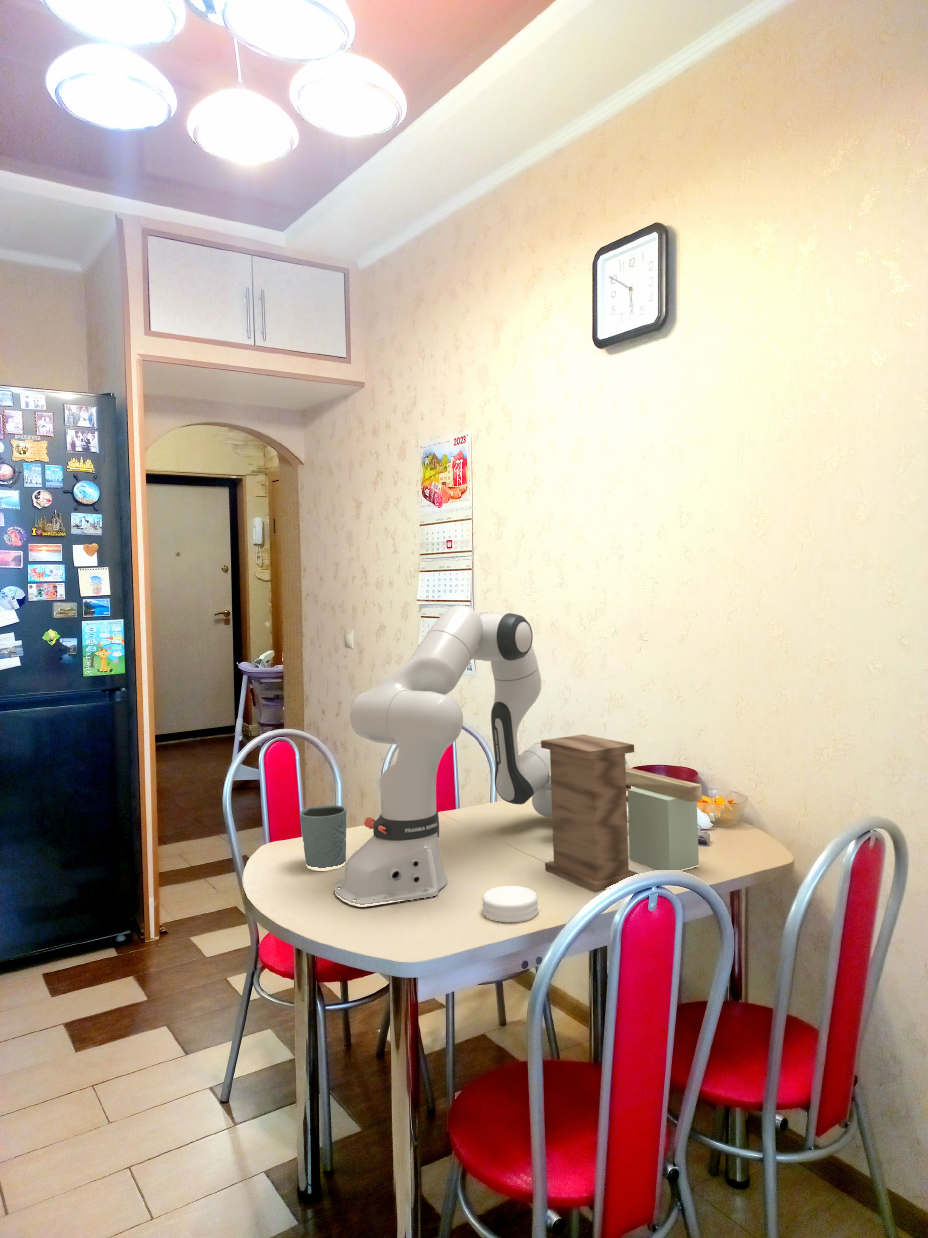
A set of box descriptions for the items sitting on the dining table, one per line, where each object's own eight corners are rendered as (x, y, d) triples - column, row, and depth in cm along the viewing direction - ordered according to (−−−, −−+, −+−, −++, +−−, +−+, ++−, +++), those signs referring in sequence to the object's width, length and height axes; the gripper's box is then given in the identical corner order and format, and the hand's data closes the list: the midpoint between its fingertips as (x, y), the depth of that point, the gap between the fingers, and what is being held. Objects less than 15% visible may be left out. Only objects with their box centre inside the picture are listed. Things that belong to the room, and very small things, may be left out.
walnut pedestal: (594, 892, 158) (589, 751, 157) (545, 870, 171) (540, 740, 171) (638, 880, 163) (634, 744, 162) (587, 860, 177) (583, 734, 176)
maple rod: (691, 802, 163) (690, 787, 163) (611, 781, 184) (611, 767, 184) (702, 800, 165) (701, 785, 165) (622, 779, 186) (621, 766, 186)
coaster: (549, 912, 149) (548, 893, 149) (512, 929, 142) (511, 909, 142) (508, 899, 156) (508, 881, 156) (471, 915, 149) (470, 895, 149)
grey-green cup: (327, 875, 173) (325, 818, 173) (291, 869, 178) (289, 813, 178) (358, 861, 182) (356, 807, 181) (323, 855, 187) (320, 802, 187)
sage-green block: (670, 874, 166) (667, 800, 166) (629, 859, 176) (627, 789, 176) (698, 866, 170) (696, 794, 170) (657, 852, 180) (655, 784, 180)
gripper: (536, 777, 194) (566, 755, 184) (604, 765, 204) (636, 744, 194) (545, 802, 192) (575, 782, 181) (613, 789, 202) (646, 769, 191)
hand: (607, 762), depth 187 cm, fingers open, 8 cm apart
